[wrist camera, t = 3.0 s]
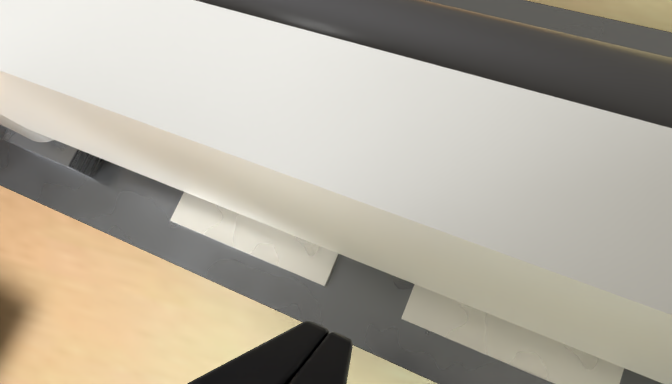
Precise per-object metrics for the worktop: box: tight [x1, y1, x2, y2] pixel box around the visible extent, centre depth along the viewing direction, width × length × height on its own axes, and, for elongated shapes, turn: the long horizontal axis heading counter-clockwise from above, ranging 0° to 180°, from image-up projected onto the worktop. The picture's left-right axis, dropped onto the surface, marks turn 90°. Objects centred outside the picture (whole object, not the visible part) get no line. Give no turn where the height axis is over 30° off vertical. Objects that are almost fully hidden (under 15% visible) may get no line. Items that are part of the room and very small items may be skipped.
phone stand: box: [0, 0, 672, 384], centre depth 12 cm, size 12×29×13 cm, turn 67°
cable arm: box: [0, 0, 672, 384], centre depth 11 cm, size 24×4×9 cm, turn 67°
